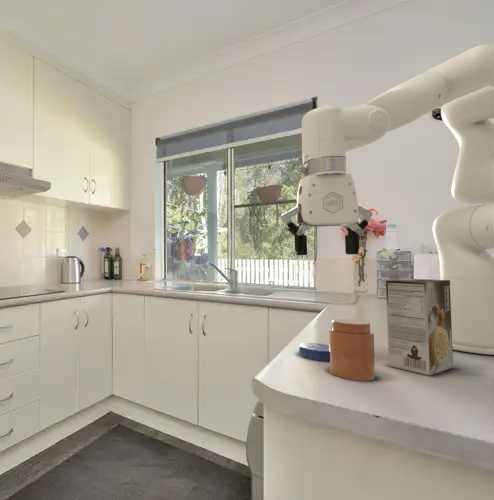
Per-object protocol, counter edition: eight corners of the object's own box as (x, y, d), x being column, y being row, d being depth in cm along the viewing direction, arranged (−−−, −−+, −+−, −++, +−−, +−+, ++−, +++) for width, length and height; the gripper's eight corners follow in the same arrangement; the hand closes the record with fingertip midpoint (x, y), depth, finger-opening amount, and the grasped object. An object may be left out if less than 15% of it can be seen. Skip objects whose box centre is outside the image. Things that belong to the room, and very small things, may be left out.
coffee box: (410, 359, 66) (408, 278, 67) (454, 368, 61) (451, 280, 61) (387, 366, 62) (384, 279, 63) (431, 376, 57) (428, 281, 57)
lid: (339, 355, 69) (338, 345, 69) (337, 363, 64) (337, 353, 64) (301, 350, 73) (301, 341, 73) (297, 357, 68) (297, 348, 68)
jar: (327, 366, 62) (326, 317, 62) (370, 371, 59) (368, 319, 60) (332, 377, 56) (331, 323, 57) (379, 383, 54) (378, 326, 54)
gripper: (287, 167, 65) (290, 255, 65) (381, 163, 64) (385, 253, 63) (273, 176, 73) (275, 255, 72) (357, 173, 71) (360, 254, 71)
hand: (326, 254), depth 68 cm, fingers open, 9 cm apart
